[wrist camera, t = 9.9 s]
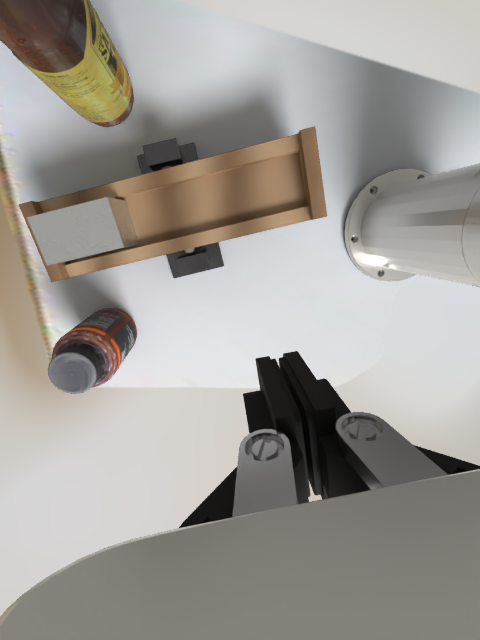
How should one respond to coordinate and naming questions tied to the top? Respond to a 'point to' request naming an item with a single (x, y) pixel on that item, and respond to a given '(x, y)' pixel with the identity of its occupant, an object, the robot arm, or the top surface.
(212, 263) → the fulcrum
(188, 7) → the top surface
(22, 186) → the top surface
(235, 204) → the beam
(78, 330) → the supplement bottle
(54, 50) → the sauce bottle
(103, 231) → the rider
